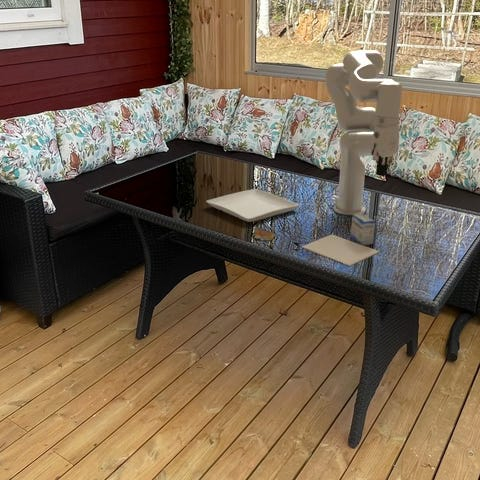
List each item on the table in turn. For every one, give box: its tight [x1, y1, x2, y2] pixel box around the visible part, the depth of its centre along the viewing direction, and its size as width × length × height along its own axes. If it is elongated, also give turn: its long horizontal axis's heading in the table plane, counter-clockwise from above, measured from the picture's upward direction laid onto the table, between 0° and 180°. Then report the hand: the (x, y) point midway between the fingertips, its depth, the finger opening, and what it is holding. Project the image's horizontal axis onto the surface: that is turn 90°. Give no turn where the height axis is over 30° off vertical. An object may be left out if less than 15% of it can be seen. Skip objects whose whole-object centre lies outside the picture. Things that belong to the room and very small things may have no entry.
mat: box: [301, 234, 380, 267], centre depth 184 cm, size 20×16×1 cm
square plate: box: [205, 188, 300, 223], centre depth 220 cm, size 27×27×4 cm
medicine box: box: [350, 213, 376, 246], centre depth 189 cm, size 8×4×9 cm, turn 21°
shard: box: [253, 225, 277, 241], centre depth 196 cm, size 11×8×2 cm
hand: (381, 175), depth 187 cm, fingers closed
